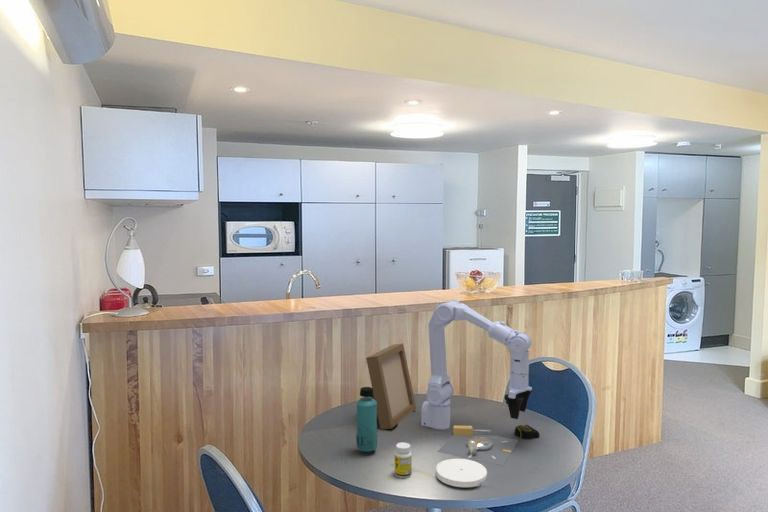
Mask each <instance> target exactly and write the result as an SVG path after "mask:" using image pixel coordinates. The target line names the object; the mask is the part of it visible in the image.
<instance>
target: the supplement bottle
mask: <svg viewBox="0 0 768 512" xmlns="http://www.w3.org/2000/svg"><path fill="white" fill-rule="evenodd" d="M412 459H413V458H412V451H411V444H410V443H407V442H402V441H401V442H398V443H397V444H396V445H395V452H394V475H395V476H396V477H397V478H399V479H406V478H409V477H411V475H412V461H413V460H412Z"/></svg>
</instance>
